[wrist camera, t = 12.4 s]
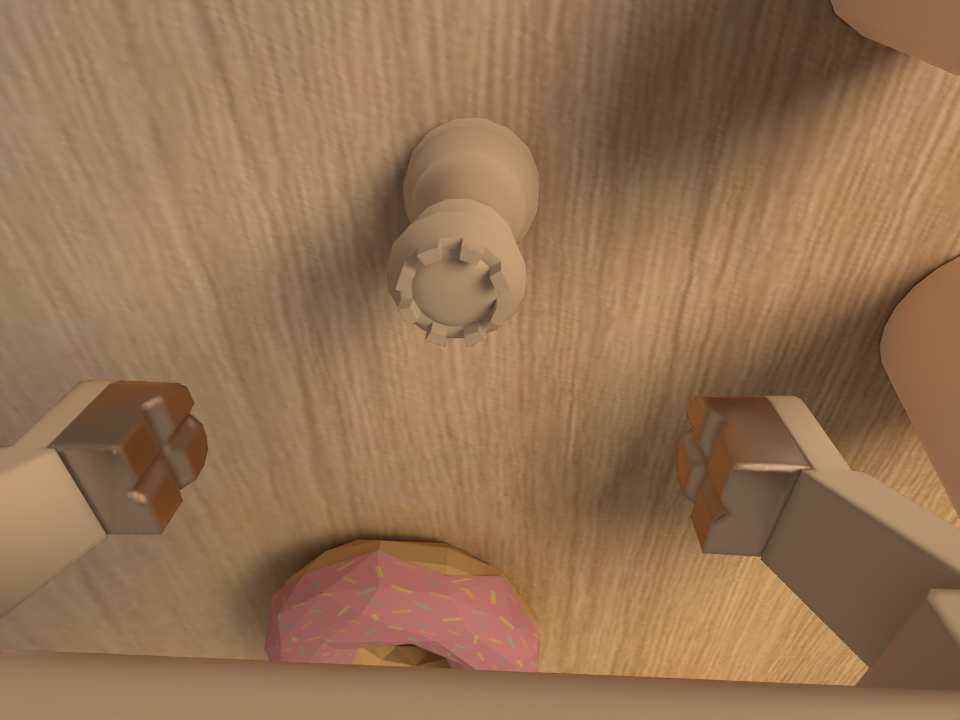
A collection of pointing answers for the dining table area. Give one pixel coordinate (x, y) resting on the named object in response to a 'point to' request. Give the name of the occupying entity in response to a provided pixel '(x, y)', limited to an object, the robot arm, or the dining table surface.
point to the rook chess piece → (464, 230)
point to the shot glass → (909, 27)
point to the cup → (930, 368)
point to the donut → (403, 611)
